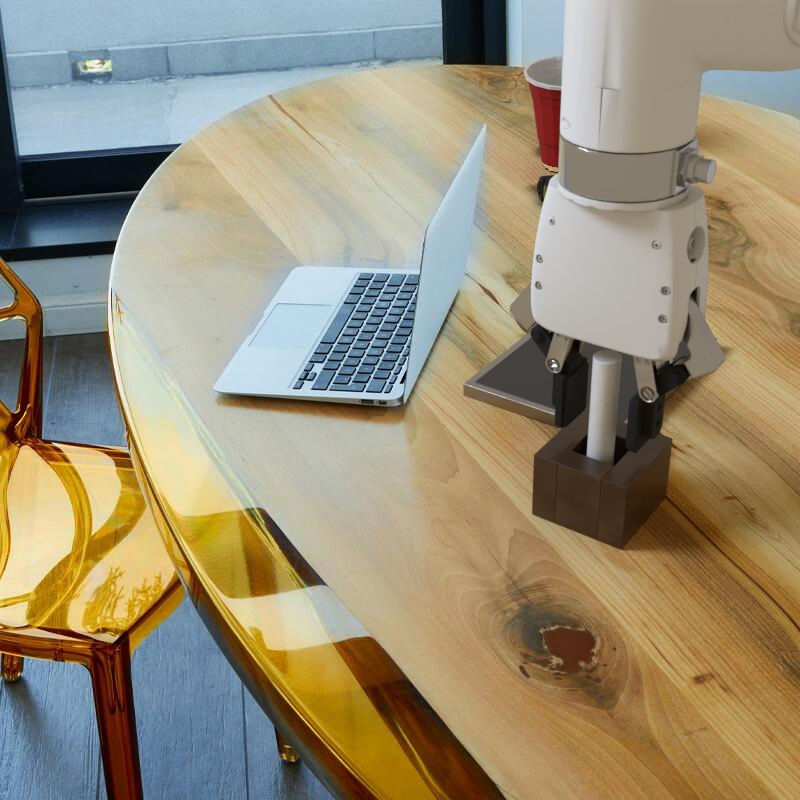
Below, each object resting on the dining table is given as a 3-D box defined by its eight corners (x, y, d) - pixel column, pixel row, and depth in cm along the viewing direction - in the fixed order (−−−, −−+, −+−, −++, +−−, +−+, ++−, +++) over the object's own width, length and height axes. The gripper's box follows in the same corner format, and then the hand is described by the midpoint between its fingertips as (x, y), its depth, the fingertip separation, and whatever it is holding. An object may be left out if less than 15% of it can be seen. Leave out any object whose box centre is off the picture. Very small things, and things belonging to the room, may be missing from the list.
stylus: (614, 504, 75) (627, 354, 68) (602, 518, 73) (613, 366, 67) (591, 496, 76) (601, 346, 69) (578, 509, 74) (587, 358, 68)
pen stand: (666, 497, 75) (672, 438, 72) (621, 550, 71) (627, 488, 68) (579, 466, 79) (582, 408, 76) (531, 514, 74) (533, 454, 71)
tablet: (715, 349, 92) (717, 337, 92) (619, 448, 80) (620, 435, 80) (571, 309, 100) (572, 298, 99) (463, 395, 88) (463, 382, 87)
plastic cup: (517, 181, 128) (519, 79, 122) (525, 150, 137) (527, 54, 131) (610, 183, 126) (617, 80, 120) (611, 152, 135) (618, 55, 129)
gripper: (794, 170, 60) (750, 442, 69) (530, 123, 69) (524, 370, 78) (742, 215, 55) (702, 502, 64) (464, 158, 64) (466, 417, 73)
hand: (605, 427), depth 71 cm, fingers open, 4 cm apart
